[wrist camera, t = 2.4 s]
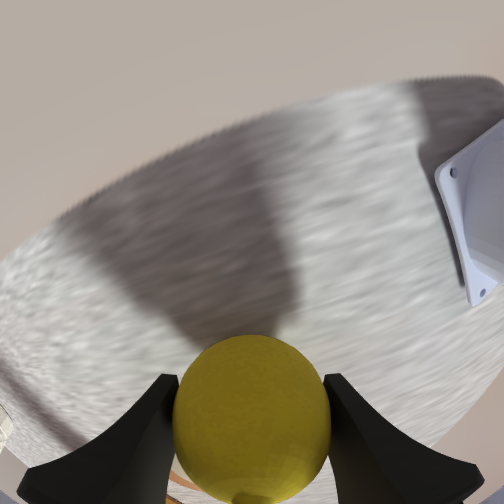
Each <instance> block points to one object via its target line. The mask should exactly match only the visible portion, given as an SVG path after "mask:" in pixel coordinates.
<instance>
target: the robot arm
mask: <svg viewBox="0 0 504 504" xmlns="http://www.w3.org/2000/svg"><path fill="white" fill-rule="evenodd" d="M450 169H452V176H450ZM435 182H436V185H437V187H438V190H439V193H440V195H441V198H442V201H443V204H444V207H445V210H446V213H447V216H448V219H449V222H450V225H451V229H452V232H453V235H454V239H455V243H456V246H457V250H458V254H459V259H460V263H461V267H462V272H463V277H464V282H465V287H466V293H467V299H468V303H469V304H471V305H472V306H476V305H477V304H478V303H480V302H481V301H482V300H483V299H484V298H485V297H486V296H487V295H488V294H489V293H490V292H491V291H492V290H493V289H494V287H495V286H496V285H497V284H498V283H500V284H502V285H504V118H503V119H502V120H500V121H499V122H498V123H497V124H495V125H494V126H493V127H491V128H490V129H489V130H487V131H486V132H485V133H484V134H482V135H481V136H480V137H478V138H477V139H476V140H474V141H473V142H472V143H470V144H469V145H468V146H466V147H465V148H463V149H462V150H461V151H459V152H458V153H457V154H455V155H454V156H453V157H451V158H450V159H448V160H447V161H446V162H444V163H443V164H441V165H440V166H439V167H438V168H437V169H436V171H435ZM323 385H324V387H325V389H326V392H327V395H328V399H329V404H330V411H331V442H330V448H329V452H328V456H329V459H330V462H331V466H332V469H333V473H334V477H335V482H336V488H337V495H338V503H339V504H463V501H464V500H465V499H466V498H468V497H469V496H470V495H471V494H473V493H474V492H475V491H476V490H477V489H478V488H480V487H481V486H482V485H483V483H484V478H483V476H482V474H481V473H480V471H479V469H478V467H477V466H476V464H471V463H468V462H464V461H460V460H457V459H454V458H451V457H448V456H446V455H443V454H441V453H438V452H436V451H434V450H432V449H430V448H428V447H426V446H424V445H422V444H421V443H419V442H417V441H415V440H414V439H412V438H410V437H409V436H407V435H406V434H404V433H403V432H401V431H400V430H399V429H397V428H396V427H395V426H393V425H392V424H391V423H390V422H388V421H387V420H386V419H385V418H384V417H382V416H381V415H380V414H379V413H378V412H377V411H376V410H375V409H374V408H373V407H372V406H371V405H370V404H369V403H368V402H367V401H366V400H365V399H364V398H363V397H362V396H361V395H360V394H359V393H358V392H357V391H356V390H355V389H354V388H353V387H352V386H351V384H350V383H349V382H348V381H347V380H346V379H345V378H344V377H343V376H342V375H341V374H340V373H337V374H327V375H325V377H324V382H323ZM178 388H179V383H178V378H177V375H171V374H161V375H160V376H159V377H158V378H157V379H156V381H155V382H154V383H153V384H152V385H151V386H150V388H149V389H148V390H147V391H146V392H145V393H144V394H143V395H142V397H141V398H140V399H139V400H138V401H137V402H136V403H135V404H134V405H133V406H132V407H131V408H130V409H129V410H128V411H127V412H126V413H125V414H124V415H123V416H122V417H121V418H120V419H118V420H117V421H116V422H115V423H114V424H113V425H112V426H111V427H109V428H108V429H107V430H106V431H104V432H103V433H102V434H100V435H99V436H98V437H96V438H95V439H93V440H92V441H90V442H89V443H87V444H86V445H84V446H82V447H81V448H79V449H77V450H75V451H73V452H71V453H69V454H67V455H65V456H63V457H61V458H59V459H56V460H54V461H51V462H49V463H45V464H42V465H39V466H36V467H32V468H28V470H27V471H26V473H25V475H24V477H23V479H22V481H21V483H20V485H19V487H18V489H17V491H16V492H17V494H18V496H20V497H21V498H22V499H23V500H25V501H26V502H27V503H28V504H165V503H166V494H167V486H168V479H169V475H170V471H171V467H172V463H173V459H174V456H175V449H174V443H173V430H172V412H173V404H174V399H175V396H176V393H177V390H178ZM0 504H18V503H17V502H15V501H14V500H13V499H11V498H10V497H9V496H7V495H6V494H5V493H3V492H2V491H1V490H0ZM480 504H504V486H502V487H501V488H500V489H499V490H497V491H496V492H495V493H493V494H492V495H491V496H489V497H488V498H487V499H485V500H484V501H483V502H481V503H480Z"/></svg>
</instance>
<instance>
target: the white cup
mask: <svg viewBox="0 0 504 504" xmlns="http://www.w3.org/2000/svg"><path fill="white" fill-rule="evenodd" d="M13 428H14V425H13V422H12V420H11V418H10V417H9V415H8V414H7V413H6V411H5V410H4V409H3V408H2V406H1V405H0V453H1V450H2V449H3V447H4V446H5V443H6V439H7V438H8V437H9V435H10V433H11V432H12V430H13Z"/></svg>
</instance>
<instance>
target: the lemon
mask: <svg viewBox="0 0 504 504" xmlns="http://www.w3.org/2000/svg"><path fill="white" fill-rule="evenodd" d="M172 430H173V443H174V449H175V453H176V456H177V459H178V461H179V463H180V465H181V467H182V469H183V470H184V472H185V473H186V475H187V476H188V477H189V478H190V480H191V481H192V482H193V483H194V484H195V485H196V486H198V487H199V488H200V489H201V490H203V491H204V492H205V493H207V494H208V495H210V496H212V497H213V498H215V499H218V500H220V501H223V502H225V503H228V504H276V503H279V502H281V501H284V500H286V499H288V498H290V497H292V496H294V495H296V494H297V493H299V492H300V491H301V490H303V489H304V488H305V487H306V486H307V485H308V484H309V483H310V482H312V481H313V480H314V478H315V477H316V476H317V474H318V473H319V472H320V470H321V468H322V466H323V464H324V462H325V460H326V458H327V456H328V452H329V448H330V442H331V411H330V404H329V399H328V395H327V392H326V389H325V387H324V385H323V383H322V381H321V379H320V377H319V375H318V374H317V372H316V370H315V368H314V367H313V365H312V364H311V363H310V362H309V361H308V360H307V359H306V358H305V357H304V356H303V355H302V354H301V353H300V352H299V351H298V350H297V349H295V348H294V347H292V346H290V345H288V344H286V343H285V342H283V341H281V340H278V339H275V338H271V337H268V336H263V335H241V336H234V337H231V338H228V339H225V340H222V341H220V342H217V343H216V344H214V345H213V346H211V347H209V348H208V349H206V350H205V351H203V352H202V353H201V354H200V355H199V356H198V357H197V358H196V360H195V361H194V362H193V363H192V364H191V365H190V366H189V368H188V369H187V371H186V372H185V374H184V376H183V378H182V381H181V383H180V386H179V388H178V390H177V393H176V396H175V399H174V404H173V412H172Z"/></svg>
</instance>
